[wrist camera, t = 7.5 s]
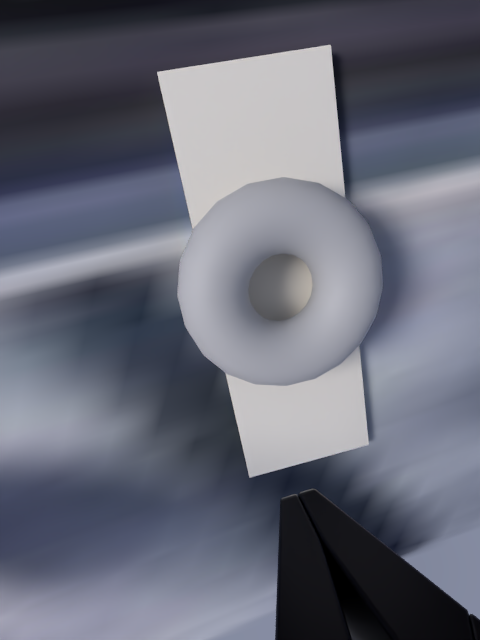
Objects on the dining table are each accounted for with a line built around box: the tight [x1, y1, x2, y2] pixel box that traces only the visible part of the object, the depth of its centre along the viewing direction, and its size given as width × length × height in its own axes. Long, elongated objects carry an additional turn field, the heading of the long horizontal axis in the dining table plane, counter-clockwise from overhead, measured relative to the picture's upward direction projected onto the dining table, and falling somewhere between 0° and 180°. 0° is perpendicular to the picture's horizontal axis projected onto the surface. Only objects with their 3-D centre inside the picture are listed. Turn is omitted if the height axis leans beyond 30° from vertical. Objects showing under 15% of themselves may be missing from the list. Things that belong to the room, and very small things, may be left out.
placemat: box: [157, 45, 369, 477], centre depth 18 cm, size 8×22×1 cm, turn 11°
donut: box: [177, 177, 383, 386], centre depth 16 cm, size 10×4×10 cm
